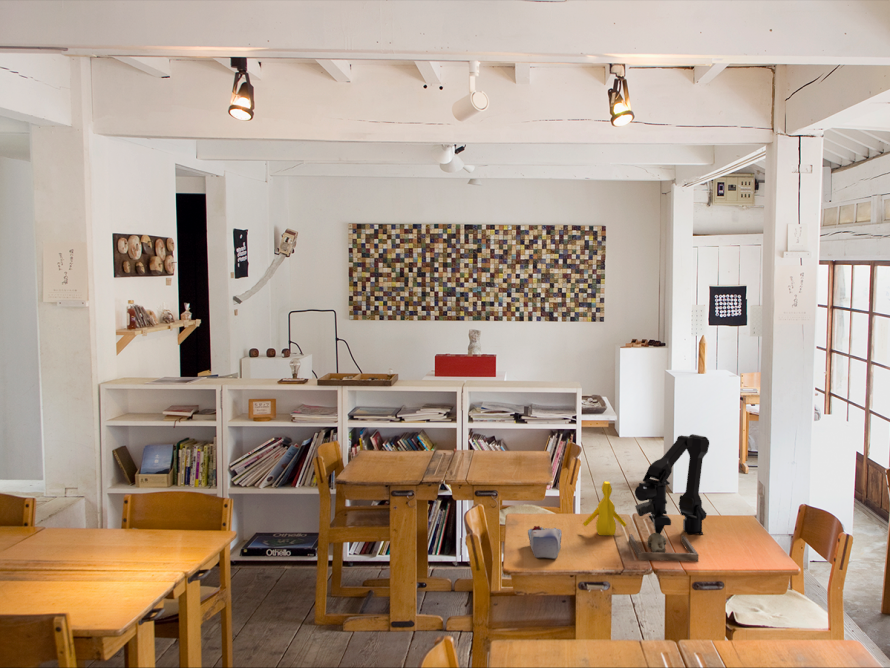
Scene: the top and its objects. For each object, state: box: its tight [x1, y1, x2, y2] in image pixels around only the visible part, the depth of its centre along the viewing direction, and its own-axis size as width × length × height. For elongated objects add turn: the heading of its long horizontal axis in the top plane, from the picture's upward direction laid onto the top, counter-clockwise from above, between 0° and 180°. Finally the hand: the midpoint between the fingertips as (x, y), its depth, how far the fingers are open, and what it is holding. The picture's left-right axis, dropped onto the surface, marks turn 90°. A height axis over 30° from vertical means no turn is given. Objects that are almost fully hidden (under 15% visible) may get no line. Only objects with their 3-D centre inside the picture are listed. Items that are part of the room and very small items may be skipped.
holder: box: [628, 533, 699, 562], centre depth 284 cm, size 21×21×2 cm
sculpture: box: [646, 532, 667, 553], centre depth 284 cm, size 7×5×15 cm
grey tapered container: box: [527, 525, 562, 560], centre depth 283 cm, size 13×11×20 cm
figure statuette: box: [582, 481, 627, 536], centre depth 302 cm, size 18×8×22 cm, turn 88°
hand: (657, 536), depth 293 cm, fingers closed
